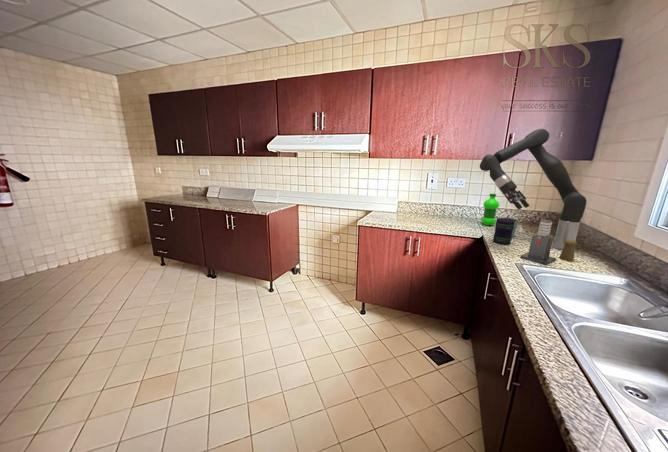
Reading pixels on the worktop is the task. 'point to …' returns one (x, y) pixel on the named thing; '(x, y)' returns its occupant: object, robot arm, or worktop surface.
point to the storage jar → (503, 231)
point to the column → (544, 228)
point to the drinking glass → (514, 225)
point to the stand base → (540, 250)
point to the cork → (568, 250)
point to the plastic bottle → (490, 210)
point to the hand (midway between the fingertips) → (524, 207)
